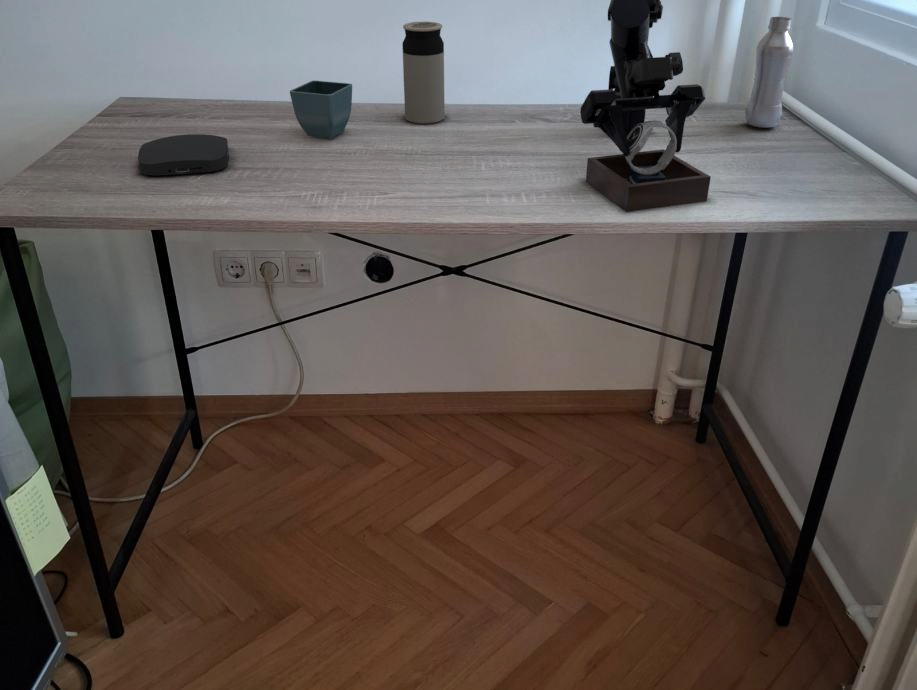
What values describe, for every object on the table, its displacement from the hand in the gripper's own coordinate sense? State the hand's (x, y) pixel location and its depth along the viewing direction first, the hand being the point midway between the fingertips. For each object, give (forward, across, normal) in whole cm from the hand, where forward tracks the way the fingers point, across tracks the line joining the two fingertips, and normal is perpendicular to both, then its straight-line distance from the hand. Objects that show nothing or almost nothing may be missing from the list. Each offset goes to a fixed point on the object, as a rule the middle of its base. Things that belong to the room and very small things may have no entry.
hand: (653, 153), depth 128 cm
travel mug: (-30, -27, +39) cm, 56 cm away
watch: (+4, 0, +6) cm, 7 cm away
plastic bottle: (-16, +36, +26) cm, 47 cm away
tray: (+4, 0, +6) cm, 7 cm away
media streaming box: (-18, -73, +28) cm, 80 cm away
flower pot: (-25, -48, +35) cm, 64 cm away
